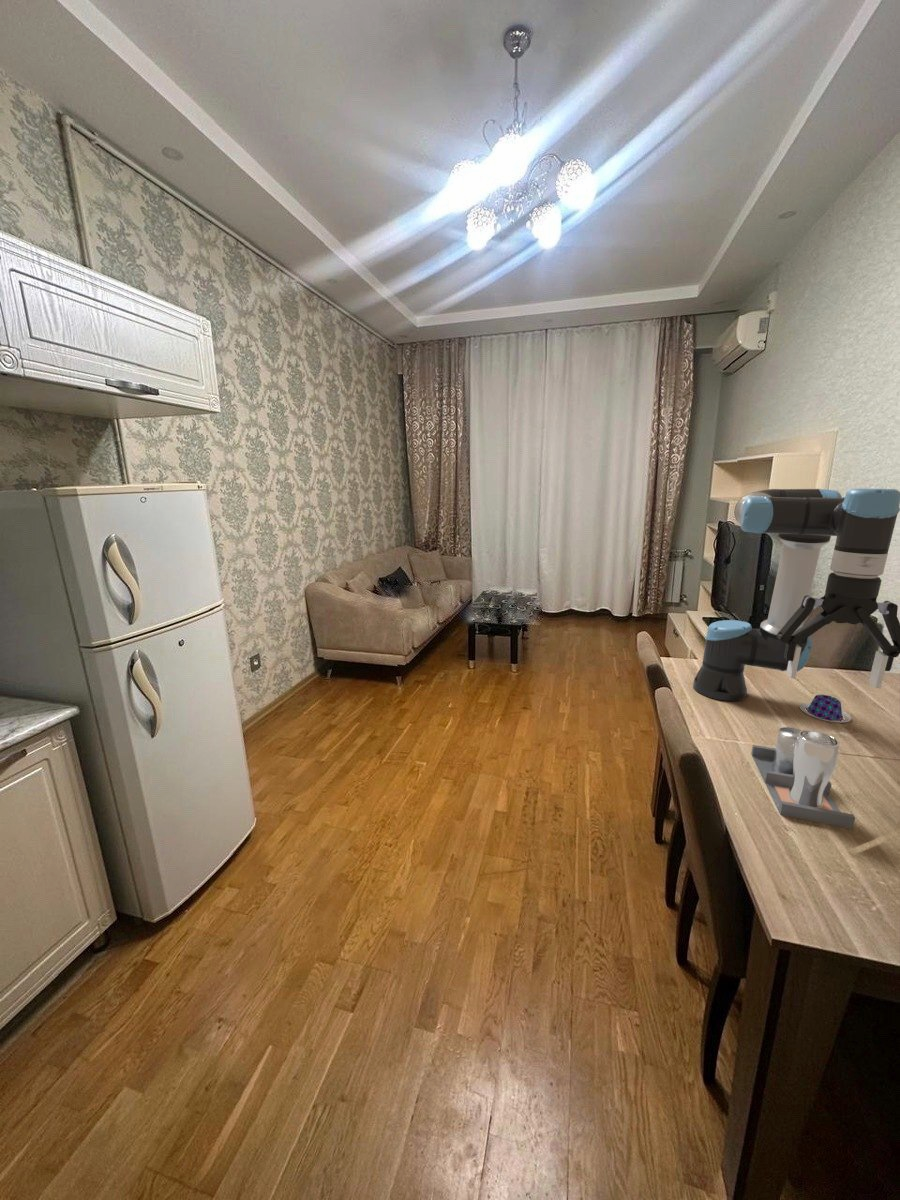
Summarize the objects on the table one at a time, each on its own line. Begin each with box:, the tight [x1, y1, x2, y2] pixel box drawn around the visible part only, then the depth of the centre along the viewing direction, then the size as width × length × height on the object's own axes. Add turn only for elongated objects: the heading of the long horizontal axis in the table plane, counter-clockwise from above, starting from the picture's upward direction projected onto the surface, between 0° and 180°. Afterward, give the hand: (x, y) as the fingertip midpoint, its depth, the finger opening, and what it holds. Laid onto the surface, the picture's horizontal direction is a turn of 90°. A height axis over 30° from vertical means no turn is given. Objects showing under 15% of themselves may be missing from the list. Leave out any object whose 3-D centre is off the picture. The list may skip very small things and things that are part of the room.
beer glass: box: [787, 729, 840, 808], centre depth 96 cm, size 7×7×15 cm
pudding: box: [799, 694, 852, 723], centre depth 137 cm, size 12×12×5 cm
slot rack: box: [750, 744, 856, 830], centre depth 103 cm, size 23×12×3 cm, turn 161°
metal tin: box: [772, 726, 802, 775], centre depth 107 cm, size 6×6×10 cm
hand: (831, 680), depth 91 cm, fingers open, 13 cm apart
